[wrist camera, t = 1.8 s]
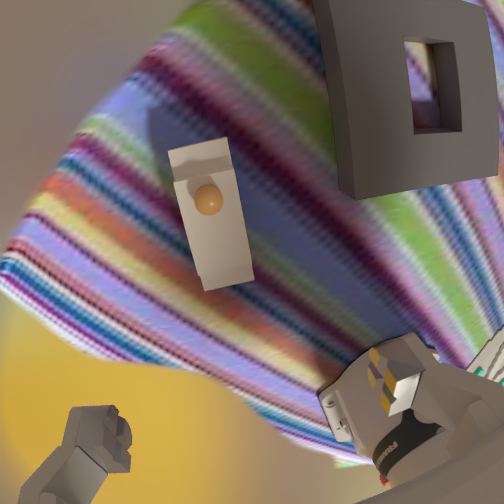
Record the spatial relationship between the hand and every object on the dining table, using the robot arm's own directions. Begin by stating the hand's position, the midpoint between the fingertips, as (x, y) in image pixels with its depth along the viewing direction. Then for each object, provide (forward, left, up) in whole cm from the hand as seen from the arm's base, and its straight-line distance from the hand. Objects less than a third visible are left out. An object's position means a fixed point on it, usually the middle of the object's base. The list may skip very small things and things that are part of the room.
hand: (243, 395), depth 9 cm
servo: (0, 0, -19) cm, 19 cm away
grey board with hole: (+8, -20, -19) cm, 29 cm away
